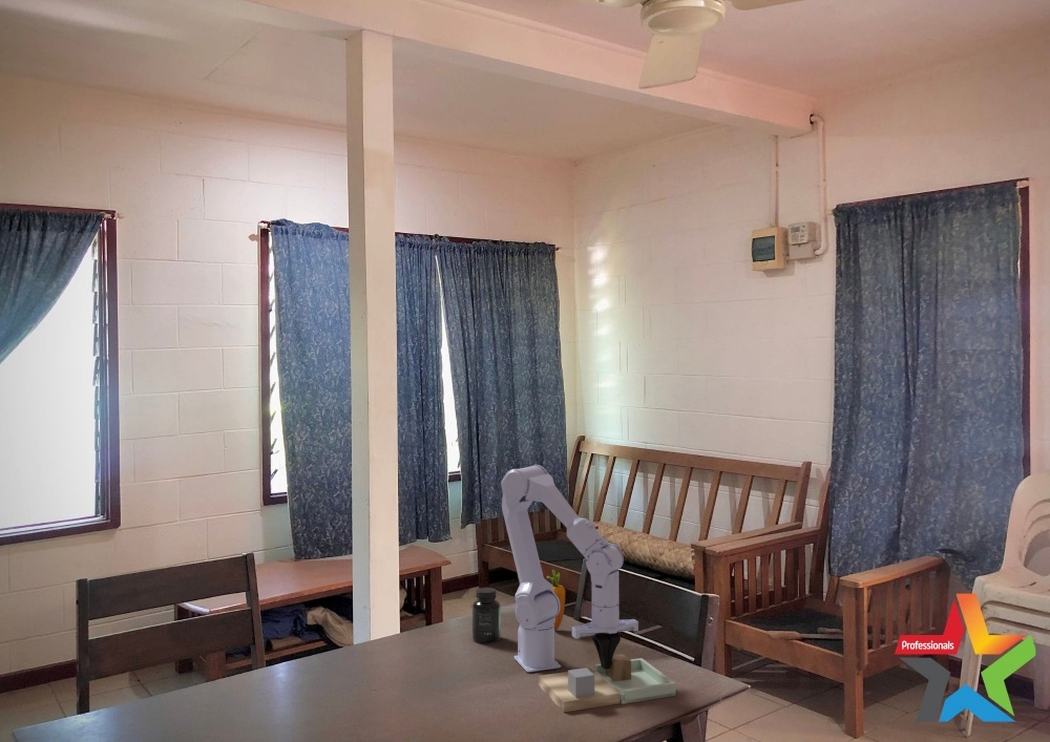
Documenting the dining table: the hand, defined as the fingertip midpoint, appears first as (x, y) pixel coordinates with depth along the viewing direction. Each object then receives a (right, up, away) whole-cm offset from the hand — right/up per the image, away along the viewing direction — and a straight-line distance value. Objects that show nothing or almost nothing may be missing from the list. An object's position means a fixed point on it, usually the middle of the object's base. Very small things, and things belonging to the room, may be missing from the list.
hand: (605, 667), depth 179 cm
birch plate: (-6, -3, -6) cm, 9 cm away
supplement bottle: (-26, -3, +27) cm, 38 cm away
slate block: (-6, -1, -11) cm, 12 cm away
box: (+5, -3, -2) cm, 7 cm away
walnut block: (+1, 0, 0) cm, 1 cm away
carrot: (-9, -3, +33) cm, 34 cm away
